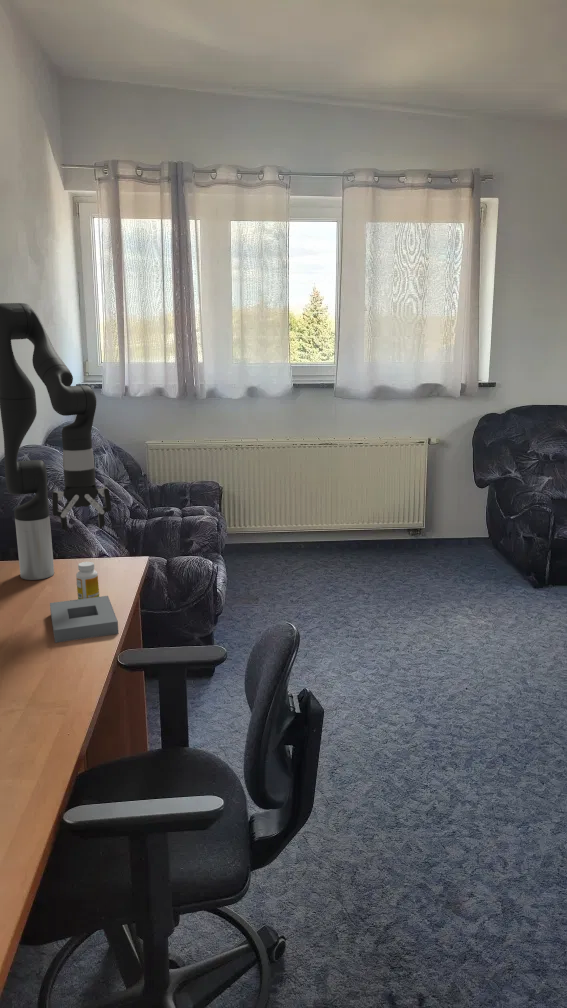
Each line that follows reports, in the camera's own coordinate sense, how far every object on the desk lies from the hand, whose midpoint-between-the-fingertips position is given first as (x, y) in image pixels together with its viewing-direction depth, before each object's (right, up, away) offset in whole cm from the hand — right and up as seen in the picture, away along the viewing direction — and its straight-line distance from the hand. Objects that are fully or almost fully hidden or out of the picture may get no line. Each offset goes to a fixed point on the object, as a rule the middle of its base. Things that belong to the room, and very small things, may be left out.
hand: (83, 529), depth 183 cm
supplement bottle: (0, -19, +4) cm, 19 cm away
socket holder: (+3, -22, -12) cm, 25 cm away
